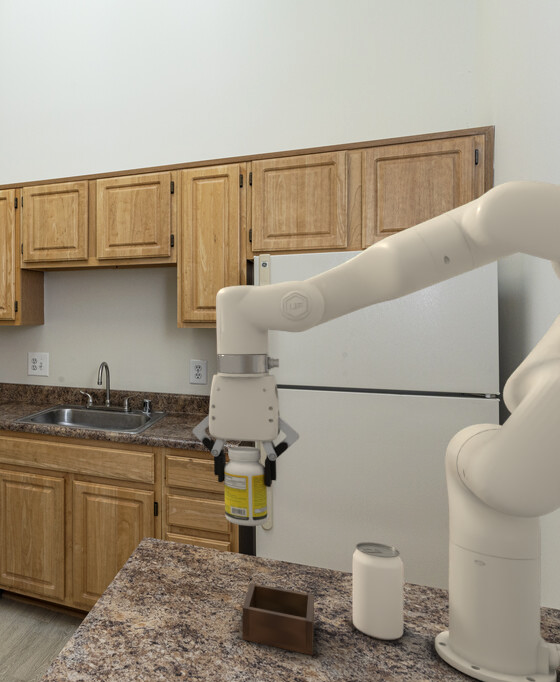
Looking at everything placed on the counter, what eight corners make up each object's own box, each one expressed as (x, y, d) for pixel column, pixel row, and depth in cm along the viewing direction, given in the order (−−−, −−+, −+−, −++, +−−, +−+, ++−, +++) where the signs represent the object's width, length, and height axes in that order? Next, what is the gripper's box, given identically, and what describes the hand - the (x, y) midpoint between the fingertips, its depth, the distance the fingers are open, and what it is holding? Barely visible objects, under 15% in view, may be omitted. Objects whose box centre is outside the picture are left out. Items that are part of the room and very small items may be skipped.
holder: (313, 624, 84) (313, 594, 84) (312, 655, 76) (312, 621, 76) (250, 611, 88) (250, 582, 88) (242, 639, 80) (242, 607, 80)
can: (411, 643, 79) (411, 559, 79) (361, 639, 80) (361, 555, 80) (392, 620, 85) (392, 542, 85) (346, 616, 87) (346, 539, 87)
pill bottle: (261, 514, 89) (259, 445, 89) (272, 527, 83) (271, 453, 83) (221, 514, 90) (219, 445, 90) (229, 526, 84) (228, 453, 84)
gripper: (305, 365, 86) (307, 482, 86) (191, 365, 94) (193, 472, 94) (303, 367, 79) (305, 494, 79) (180, 367, 87) (183, 483, 87)
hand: (245, 481), depth 86 cm, fingers closed on pill bottle, 6 cm apart
